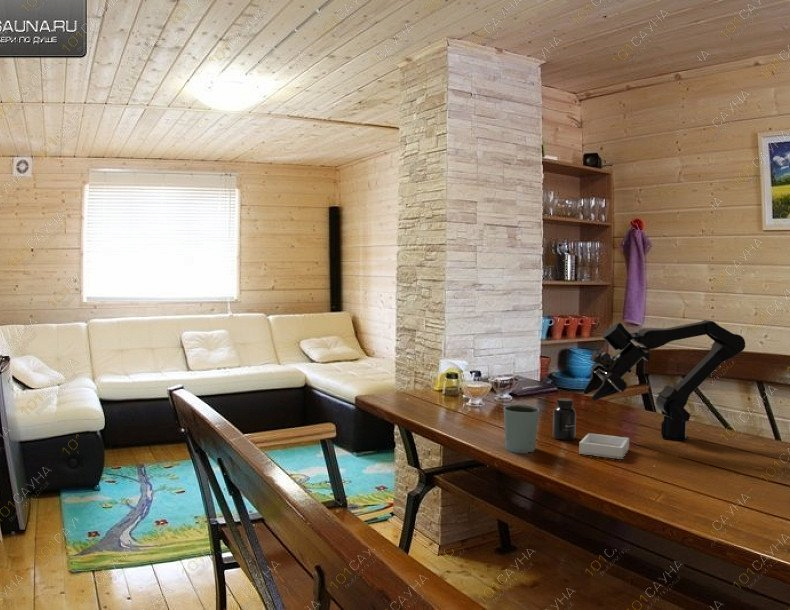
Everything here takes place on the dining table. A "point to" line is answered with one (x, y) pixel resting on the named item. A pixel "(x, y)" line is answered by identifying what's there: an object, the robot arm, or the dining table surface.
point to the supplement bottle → (564, 420)
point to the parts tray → (604, 446)
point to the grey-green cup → (520, 428)
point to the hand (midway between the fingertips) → (588, 396)
